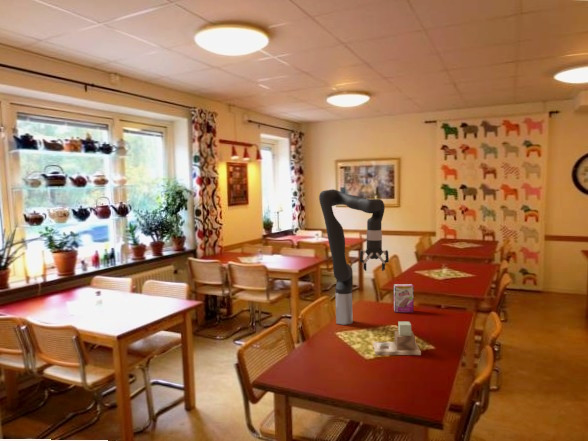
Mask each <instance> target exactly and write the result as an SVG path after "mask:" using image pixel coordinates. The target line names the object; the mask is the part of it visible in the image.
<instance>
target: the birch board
mask: <svg viewBox="0 0 588 441" xmlns="http://www.w3.org/2000/svg"><path fill="white" fill-rule="evenodd" d="M372 346H373V350H374V355H375V356H378V355H379V356H388V355H389V356H390V355H391V356H405V355H406V356H421V355H422V351H421V350H420V347H419V346H418V344H417V342H416V341H415V350H397V348H396V345H395V341H372Z"/></svg>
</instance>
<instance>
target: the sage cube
mask: <svg viewBox="0 0 588 441" xmlns="http://www.w3.org/2000/svg"><path fill="white" fill-rule="evenodd" d="M397 322H398V323H397V324H398V327H397V328H398V329H397V331H398V332H399V334H400V336H411V331H412V324H411V322H410V321H397Z"/></svg>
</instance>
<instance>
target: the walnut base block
mask: <svg viewBox="0 0 588 441" xmlns="http://www.w3.org/2000/svg"><path fill="white" fill-rule="evenodd" d="M394 342H395V345H396V348H397V350H415V342H416V336H415V333H414V332H413V330H411V336H400V334H399V332H398V330H395V331H394Z"/></svg>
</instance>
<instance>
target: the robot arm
mask: <svg viewBox="0 0 588 441" xmlns="http://www.w3.org/2000/svg"><path fill="white" fill-rule="evenodd" d="M318 197H319V199H318V200H319V204H320V208H321V211H322V215H323V220H324V224H325V228H326V229H325V230H326V235H327V241H328V244H329V250H330V254H331V259H332V268H333V270H332V271H333V275H334V278H335V280H336V282H335V284H336V285H335V288H334V289H335V292H334V293H335V323H336V324H337V325H343V326H344V325H345V326H346V325H352V324H353V322H354V321H353V319H354V318H353V279H354V278H353V276H354V275H353V268H352V266H351V265H350V264H348V263H347V259H346V238H345V231H344V228H343V226H342V224H341V223H340V222H339V220H338V219H337V218H336V216H335V213H334V210H333V207H335V206H338V205H340V206H341V205H344V206H347V207H348V208H349V209H352V210H357V211H360V212H364V213H366V214H372V215H371V217H370V218H368V219H367V221H366V222H367V223H366V249H365V250H363V249H360V251H359V262H360V263H362V264H363V270H364V271H365V272H367V262H368V261H369V260H373V259H374V260H380V261H381V271H382V272H384V271H385V270H386V263H389V262H390V260H389V256H390V255H389V251H388V249H386V250H383V249H382V246H383V234H382V233H383V232H382V221H383V217H384V214H385V202H384V201H383V200H382V199H380V198H375V199H374V198H373V199H372V198H371V199H370V198H366V197H364V196H358V195H352V194H347V193H345V192H342V191H339V190H337V189H334V188H333V189H325V190H322V191H321V192H320V193H319V196H318ZM365 254H366V255H367V256H366V257H365V259H363V256H364V255H365ZM383 254H384V255H385V259H383V257H382V255H383Z"/></svg>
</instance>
